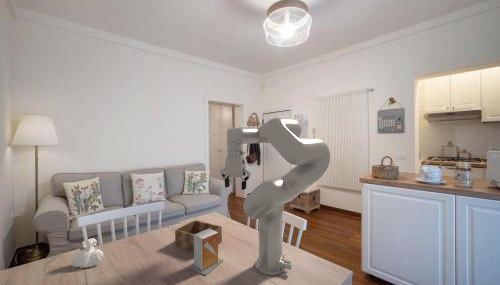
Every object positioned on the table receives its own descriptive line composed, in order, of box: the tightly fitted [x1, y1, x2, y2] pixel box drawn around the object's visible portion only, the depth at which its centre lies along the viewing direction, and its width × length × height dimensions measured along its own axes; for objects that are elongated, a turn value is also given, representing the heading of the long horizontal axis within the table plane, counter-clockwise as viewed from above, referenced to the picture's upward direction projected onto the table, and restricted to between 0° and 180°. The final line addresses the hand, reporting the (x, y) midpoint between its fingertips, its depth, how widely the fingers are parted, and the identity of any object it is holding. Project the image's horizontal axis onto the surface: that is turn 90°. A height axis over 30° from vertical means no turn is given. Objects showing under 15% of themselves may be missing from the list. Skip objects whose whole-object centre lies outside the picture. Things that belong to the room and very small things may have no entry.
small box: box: [193, 228, 219, 271], centre depth 90 cm, size 8×6×13 cm
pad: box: [186, 258, 224, 277], centre depth 90 cm, size 10×11×1 cm
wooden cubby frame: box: [174, 219, 223, 253], centre depth 107 cm, size 18×14×8 cm
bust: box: [71, 237, 104, 269], centre depth 92 cm, size 12×8×11 cm
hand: (235, 188), depth 105 cm, fingers open, 9 cm apart
